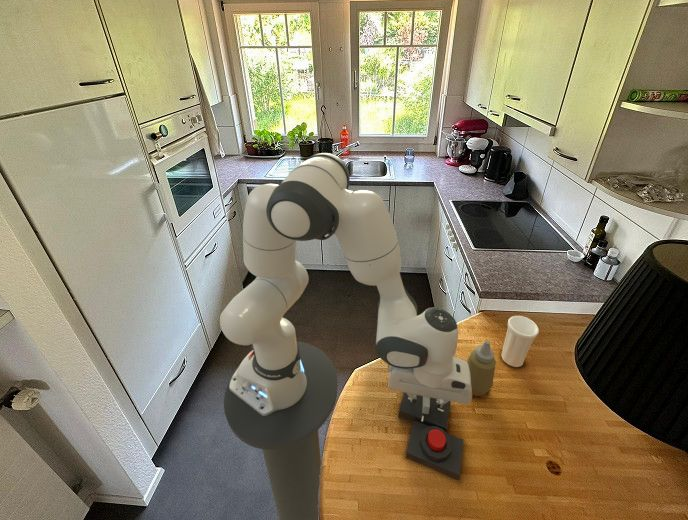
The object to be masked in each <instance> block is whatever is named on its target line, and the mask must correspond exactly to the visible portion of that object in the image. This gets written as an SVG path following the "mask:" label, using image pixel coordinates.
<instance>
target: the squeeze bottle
mask: <svg viewBox="0 0 688 520" xmlns="http://www.w3.org/2000/svg"><path fill="white" fill-rule="evenodd" d="M466 362H467V363H468V365H469V369H470V376H471V387H472V396H475V397H481V396H484V395H485V394H487V393H488V392H489V391H490V390H491V389H492V388H493V384H494V377H495V370H496V363H497V361H496V358H495V353H494V350H493V349H492V348H491V342H490V340H489V339H488V340H485V341H484V342H483V343H482V344H479V345H477V346H476V347H475V349H473V350H471V352H470V354H469V356H468V358H467V360H466Z"/></svg>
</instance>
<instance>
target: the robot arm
mask: <svg viewBox="0 0 688 520" xmlns="http://www.w3.org/2000/svg"><path fill="white" fill-rule="evenodd" d="M350 178H351V177H350V171H349V169H348V165H346V162H344V160H342V159H341V158H340V157H339V156H337V155H336V154H333V153H330V152H329V153H328V152H321V153H315V154H313V155H311V156H309V157H307V158H306V159H305V160H304V161H303V162H302V163H300V164H299V165H297V166H296V167H295V168H293V169H292V170H291V171H290V172H289V174H288V175H287V176H286V177H284V179H283V181H282V182H281V183H280V184H276V183H264V184H260V185H258V186H256V187H254V188H253V189H251V191H250V192H249V194H248V196H247V198H246V202H245V207H244V212H243V222H242V224H243V225H242V242H243V243H242V245H243V246H242V251H243V252H242V253H243V254H242V255H243V263H244V264H243V265H244V266H245V267H246V269H247V271H249V273H250V274H252V275H253V276H255V279H254V280H252V282H251V283H249V284H248V285H246V286H245V288H243V289H242V290H241V291H240V292H238V293H237V294H236V295H235V296H234V297H233V298H232V299H231V300H230V301H229V302H228V304H227V305H226V306H225V308H224V309H223V311H221V313H220V315H219V326H220V329H221V331H222V333H223V335H224V336H225V338H227V340H229V342H231V343H233V344H236V345H238V346H239V345H240V346H250V347H249V351H250V352H248V354H247V355H246V356H245V357H244V358H243V360H242V361H241V363H240V364H239V365H240V366H239V365H238V367H239V368H238V367H237V368H238V369H237V368H236V369H237V370H236V369H235V370H236V372H235V371H234V372H235V373H234V372H233V373H234V375H233V374H232V375H233V377H232V376H231V377H232V379H231V381H230V386H229V388H230V390H231V391H232V392H233V393H234V394H235V395H237V396H238V397H239V398H241V399H242V400H243V401H244V402H246V403H247V404H248V405H249V406H251V407H252V408H253V409H255V410H256V411H257V412H258V413H260V414H261V415H262V416H267V415H269V414H271V413H273V412H274V411H277V410H281V409H285V408H288V407H290V406H292V405H294V404H295V403H296V402H298V401H299V400H300V399H301V397H302V396H303V394H304V393H305V390H306V387H307V378H306V375H305V373H304V369H303V366H302V363H301V360H300V352H299V347H298V344H297V342H298V341H297V335H296V328H295V326H294V324H293V323H292V321H290V320H289V319H287V318H285V317H284V315H285V314H286V313H287V312H288V311H289V310H290V308H292V306H293V305H294V304H295V303H296V302H297V301H298V300H299V299H300V298H301V296H302V295H303V293H304V291H305V289H306V288H307V286H308V284H309V281H310V280H309V279H310V277H309V274H308V271H307V269H306V268H305V266H304V265H303V264H302V263H301V262H300V261H298V260H296V251H297V249H296V248H297V242H298V241H299V242H307V241H312V240H319V241H326V240H328V239H329V238H331V237H332V236H334V235H335V236H336V237H337V240H338V242H339V245H340V248H341V251H342V253H343V257H344V260H345V263H346V266H347V268H348V270H349V271H350V273H351V275H352V276H353V278H354V279H355V281H357V282H358V283H361V284H363V285H366V286H375V287H376V288H377V291H378V293H379V299H378V303H377V322H376V323H377V324H376V337H375V338H376V339H375V352H376V354H377V356H378V357H379V358H380V359H381V361H382V362H384V363H385V364H387V370H388V380H387V388H388V389H390V391H395V392H401V393H404V392H405V393H407V395H408V396H409V397H410V402H414V403H416V399H417V397H416V396H417V395H420V396H425V397H431V398H436V407H438V408H442V405H444V404H445V403H447V402H448V401H451V403H455V404H456V403H457V404H462V405H468V404H471V403H472V399H473V394H472V387H471V376H470V369H469V365H468V363H467V360H464V359H461V358H459V357H457V356H455V355H456V352H457V348H458V341H459V325H458V323H457V321H456V319H455V317H454V316H452V314H451V313H449V312H448V311H447V310H445V309H443V308H440V307H436V306H435V307H434V306H433V307H428V308H426V309H425V310H424V311H423V312H422V313H419V314H418V305H417V303H416V302H417V301H415V298H414V297H413V296H412V295H411V294H410V293H409V292H408V291H407V289H406V288H405V285H404V283H403V278H402V275H401V271H402V256H401V255H402V254H401V248H400V242H399V238H398V235H397V230H396V228H395V225H394V222H393V219H392V216H391V214H390V212H389V209H388V207H387V205H386V203H385V201H384V199H383V198H382V197H381V196H380V194H378V193H377V192H375V191H371V190H366V189H365V190H364V189H363V190H362V189H361V190H355V191H353V190H349V187H350ZM234 380H235V381H234ZM261 408H263V409H261Z"/></svg>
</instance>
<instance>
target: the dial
mask: <svg viewBox="0 0 688 520" xmlns="http://www.w3.org/2000/svg"><path fill="white" fill-rule="evenodd" d="M429 409H430V397H425V396H423V409H422V413H423V414H429Z"/></svg>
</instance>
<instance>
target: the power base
mask: <svg viewBox="0 0 688 520" xmlns="http://www.w3.org/2000/svg"><path fill="white" fill-rule="evenodd" d="M433 429H437V430H440V431H441V432H442V433H443V434H444V435H445V438H446V443H445V447H444V449H443V450H442V451H440V452H436V451H434V450H432V449H431V448H430V447H429V445H428V442H427V439H428V434H429V432H430V431H431V430H433ZM463 448H464V438H461V437H459V436H456V435H453V434H451V433H448V432H447V431H446V432H445V431H444V430H443V429H442V428H439V427H436V426H431V427H430V426H428V425H425V424H423V423H420V422H418V421H415V420H414V421H413V423H412V426H411V430H410V435H409V439H408V444H407V448H406V452H405V458H406V459H408V460H411V461H413V462H415V463H418V464H420V465H423V466H424V467H426V468H429V469H431V470H434V471H436V472H439V473H441V474H444V475H446V476H447V477H449V478H452V479H454V480H457V481H459V480H460V476H461V469H462V460H463V459H462V457H463V450H464V449H463Z"/></svg>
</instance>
